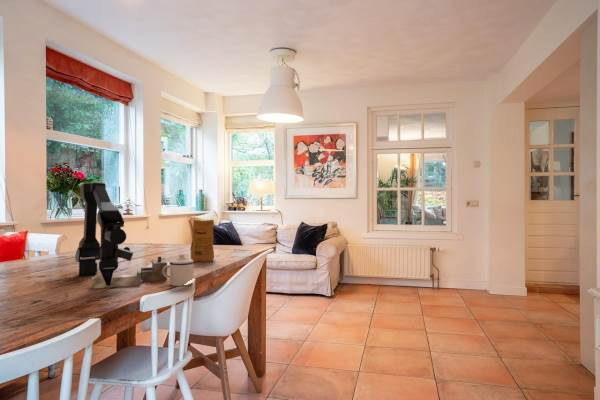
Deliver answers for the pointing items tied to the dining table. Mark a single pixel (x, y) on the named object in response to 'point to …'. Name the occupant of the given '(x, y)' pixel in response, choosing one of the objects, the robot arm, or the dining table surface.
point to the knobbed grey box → (154, 271)
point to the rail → (118, 281)
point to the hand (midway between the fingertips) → (108, 283)
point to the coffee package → (202, 241)
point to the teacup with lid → (180, 270)
